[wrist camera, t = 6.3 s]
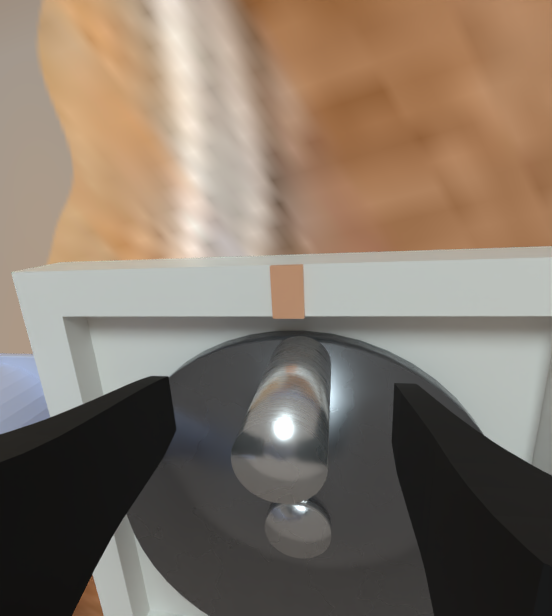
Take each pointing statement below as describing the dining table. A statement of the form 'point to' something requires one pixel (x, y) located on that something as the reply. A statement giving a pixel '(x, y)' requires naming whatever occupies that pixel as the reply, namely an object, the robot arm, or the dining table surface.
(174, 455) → the dial
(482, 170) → the dining table surface
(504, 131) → the dining table surface
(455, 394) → the dial base
